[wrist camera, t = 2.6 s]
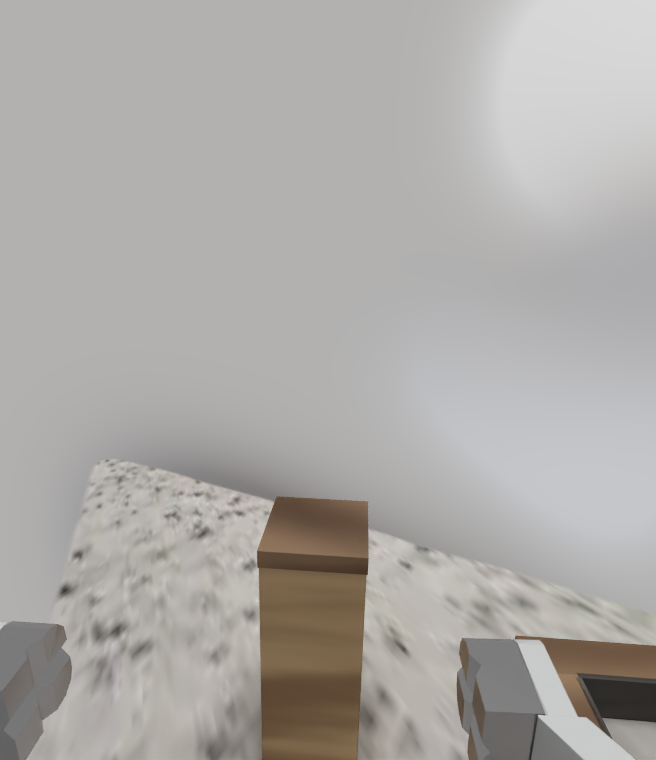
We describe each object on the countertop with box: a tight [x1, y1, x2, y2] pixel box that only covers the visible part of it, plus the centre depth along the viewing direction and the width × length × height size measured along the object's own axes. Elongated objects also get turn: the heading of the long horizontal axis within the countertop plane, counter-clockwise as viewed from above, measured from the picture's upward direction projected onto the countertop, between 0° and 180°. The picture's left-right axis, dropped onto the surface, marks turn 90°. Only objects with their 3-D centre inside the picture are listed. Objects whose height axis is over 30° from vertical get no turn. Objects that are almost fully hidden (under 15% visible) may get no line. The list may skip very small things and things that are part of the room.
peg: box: [257, 497, 368, 760], centre depth 24 cm, size 5×5×12 cm
